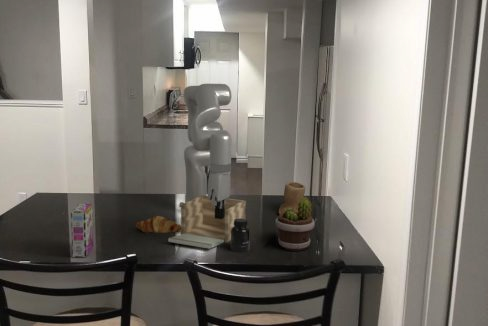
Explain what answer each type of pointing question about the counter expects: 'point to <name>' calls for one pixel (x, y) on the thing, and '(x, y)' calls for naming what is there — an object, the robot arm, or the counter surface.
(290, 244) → the flowerpot
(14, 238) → the counter surface
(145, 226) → the croissant
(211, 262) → the counter surface
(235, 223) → the supplement bottle
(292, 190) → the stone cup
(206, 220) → the crate
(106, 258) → the counter surface
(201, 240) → the panel
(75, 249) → the candy bar box
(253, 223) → the counter surface
